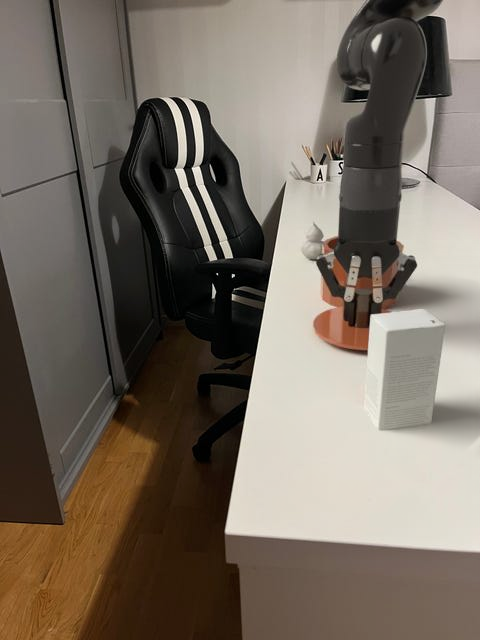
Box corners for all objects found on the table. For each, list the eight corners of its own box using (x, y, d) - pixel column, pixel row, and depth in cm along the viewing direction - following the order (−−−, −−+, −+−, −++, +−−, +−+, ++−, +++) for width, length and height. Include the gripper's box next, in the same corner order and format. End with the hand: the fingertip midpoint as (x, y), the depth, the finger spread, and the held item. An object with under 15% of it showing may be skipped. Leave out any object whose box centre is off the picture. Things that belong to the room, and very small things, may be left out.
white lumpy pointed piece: (300, 254, 108) (301, 218, 105) (331, 254, 107) (333, 217, 104) (301, 262, 103) (301, 224, 100) (333, 262, 103) (335, 224, 99)
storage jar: (348, 280, 93) (352, 230, 89) (411, 297, 84) (418, 243, 80) (305, 300, 85) (307, 246, 81) (370, 321, 77) (375, 262, 73)
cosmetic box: (412, 404, 56) (425, 307, 51) (431, 427, 52) (448, 324, 47) (360, 411, 55) (369, 313, 50) (376, 435, 52) (387, 331, 47)
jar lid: (348, 305, 80) (350, 269, 78) (428, 329, 71) (433, 289, 69) (293, 333, 72) (293, 294, 69) (376, 365, 63) (380, 321, 60)
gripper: (423, 195, 66) (409, 315, 73) (316, 195, 68) (313, 310, 76) (431, 208, 59) (415, 338, 66) (312, 207, 62) (309, 332, 69)
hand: (361, 323), depth 71 cm, fingers closed on jar lid, 2 cm apart
